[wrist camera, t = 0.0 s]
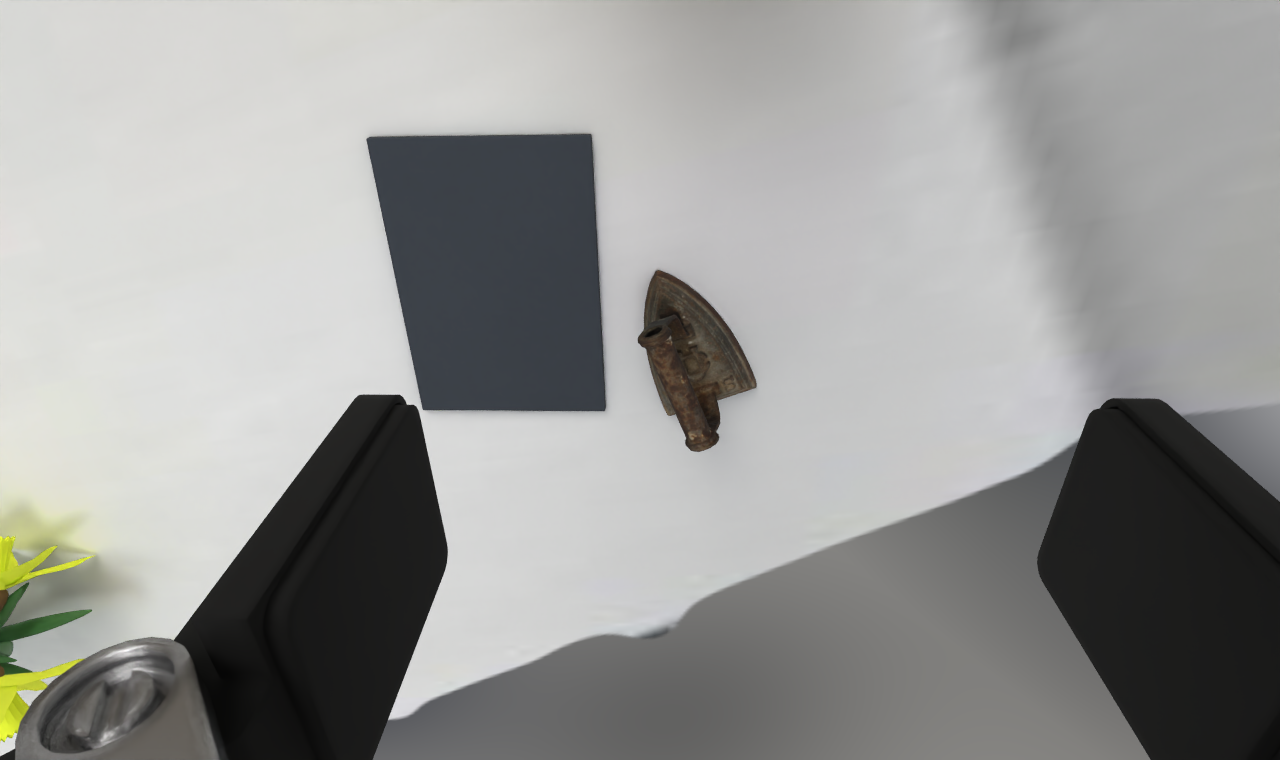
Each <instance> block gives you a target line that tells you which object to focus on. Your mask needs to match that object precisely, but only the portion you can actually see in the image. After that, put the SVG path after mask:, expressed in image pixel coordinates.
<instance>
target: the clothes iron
mask: <svg viewBox="0 0 1280 760" xmlns="http://www.w3.org/2000/svg"><path fill="white" fill-rule="evenodd" d="M638 343H639V344H640V345H641V346H642V347H645V348H646V350H647V355H648V360H649V364H650V368H651V372H652V375H653V379H654V382H655V385H656V388H657V391H658V393H659V396H660V399H661V401H662V404H663V406H664V409H665V411H666V413H667V415H668V416H672V415H675V414H676V416H677V418H678V420H679V423H680V425H681V427H682V429H683V432H684V434H685V436H686V440H685V444H686V446H687V447H688V448H689V449H690V450H691V451H695V452H700V451H704V450H706V449H709V448H711V447H712V446H714V445H715V444H716V443H717V442H718V440H719V435H718V434H717V433H716V431H717V429H718V427H719V425H720V412H719V407H718V403H717V400H720V399H723V398H726V397H729V396H732V395H735V394H738V393H742V392H745V391H748V390H751V389H754V388H756V380H755V377H754V375H753V372H752V370H751V368H750V365H749V363H748V361H747V359H746V357H745V355H744V353H743V351H742V349H741V347H740V345H739V343H738V342H737V340H736V338H735V337H734V335H733V333H732V332H731V330H730V329H729V327H728V326H727V324H726V323H725V322H724V321H723V319H722V318H721V317H720V315H719V314H718V313H717V312H716V311H715V310H714V308H713V307H712V306H711V305H710V304H709V303H708V302H707V301H706V300H705V299H704V298H703V297H701V296H700V295H699V294H698V293H697V292H696V291H694V290H693V289H692V288H691V287H689V286H688V285H687V284H685V283H684V282H682V281H681V280H679V279H677V278H675V277H673V276H671V275H669V274H667V273H664V272H662V271H659V270H658V271H656V272H655V274H654V276H653V278H652V279H651V282H650V285H649V288H648V293H647V297H646V302H645V312H644V331H643V332H642V333H641V334H640V336H639V337H638Z"/></svg>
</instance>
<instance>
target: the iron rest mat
mask: <svg viewBox="0 0 1280 760" xmlns="http://www.w3.org/2000/svg"><path fill="white" fill-rule="evenodd" d="M367 144H368V149H369V154H370V159H371V163H372V168H373V173H374V178H375V183H376V187H377V192H378V197H379V202H380V207H381V211H382V216H383V221H384V226H385V231H386V235H387V240H388V245H389V250H390V255H391V259H392V264H393V269H394V274H395V279H396V283H397V288H398V293H399V298H400V302H401V307H402V312H403V317H404V322H405V326H406V331H407V336H408V341H409V346H410V350H411V355H412V360H413V365H414V370H415V374H416V379H417V384H418V389H419V394H420V398H421V403H422V408H423V410H513V411H605V408H606V403H605V384H604V365H603V345H602V326H601V307H600V288H599V269H598V249H597V230H596V211H595V192H594V173H593V154H592V135H591V134H570V135H487V136H404V137H369V138H367Z"/></svg>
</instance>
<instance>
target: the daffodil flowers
mask: <svg viewBox="0 0 1280 760" xmlns="http://www.w3.org/2000/svg"><path fill="white" fill-rule="evenodd" d="M15 537H16V536H15ZM15 537H14V536H13V537H12V538H9V536H7V537H6V538H5V539H3V538H2V537H0V741H1V740H2V741H3V742H5V740H6V738H7V737H9V738H12V737H13V735H14V733H18V729H19V725H20V721H21V720H22V718H23V717H24V715H25V714H26V712H27V710H28V709H29V706H28V705H27V704H26V703H25V702H24V701H23V700H22V698H21V697H20V696H19V695H18V693H17V692H16V691H21V690H34V691H37V690H43V689H45V688H46V687H47V686H48V685H47V684H45V683H44V682H42V681H40V680H41V679H45V678H49V677H53V676H57V675H61V674H63V673H64V672H66V671H67V670H68V669H70V668H71V667H72V666H74V665H75V664H76V663H78V662H80V661H82V660H84V659H78V660H74V661H71V662H68V663H65V664H62V665H59V666H56V667H54V668H51V669H48V670H45V671H42V672H32V671H30V670H28V669H25V668H22V667H19V666H16V665H13V664H9V662H16V661H17V660H16V659H13V658H10V657H9V656H10V655H11V654H12V651H13V643H12V641H13V640H17V639H20V638H24V637H28V636H32V635H36V634H39V633H42V632H45V631H48V630H50V629H53V628H56V627H58V626H61V625H63V624H66V623H68V622H71V621H73V620H75V619H78V618H80V617H82V616H84V615H86V614H88V613H90V612H91V611H92V610H79V611H72V612H66V613H60V614H55V615H49V616H44V617H39V618H35V619H31V620H27V621H24V622H20V623H16V624H13V625H9V626H5V627H2V626H3V625H4V624H5V623H6V621H7V620H8V618H9V616H10V615H11V613H12V611H13V610H14V608H15V606H16V604H17V602H18V601H19V600H20V598H21V597H22V595H23V594H24V592H25V591H26V589H27V587H28V585H29V582H28V583H26V584H25V585H23V586H22V587H20V588H19V589H18V590H16V591H15V592H14V593H12V594H11V595H10V596H9V594H8V591H7V590H6V589H8V588H10V587H13V586H15V585H17V584H19V583H22V582H24V581H27V580H29V579H31V578H34V577H36V576H39V575H43V574H47V573H51V572H56V571H61V570H65V569H68V568H71V567H74V566H77V565H79V564H81V563H82V562H84V561H85V560H87V559H89V558H91V557H93V556H90V557H86V558H82V559H79V560H75V561H72V562H68V563H65V564H62V565H58V566H55V567H51V568H47V569H43V570H39V571H35V572H31V573H29V572H30V571H32V570H33V569H34V568H35V567H37V566H38V565H39V564H40V563H42V562H43V561H44V560H45V559H46V558H47V557H48V556H49V555H50V554H51V553H52V552H53V551H54V549H55V548H56V547H57V546H54V547H51V548H49V549H47V550H45V551H43V552H42V553H41V554H40V555H38V556H37V557H36V558H34V559H32V560H30V561H28V562H26V563H24V564H22V565H20V566H18V562H17V561H16V559H15V558H14V555H13V553H12V551H11V550H12V547H13V543H14V540H15ZM8 596H9V597H8Z"/></svg>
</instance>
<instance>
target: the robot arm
mask: <svg viewBox="0 0 1280 760" xmlns="http://www.w3.org/2000/svg"><path fill="white" fill-rule="evenodd" d="M447 555H448V548H447V542H446V537H445V532H444V528H443V523H442V518H441V513H440V509H439V504H438V499H437V495H436V490H435V485H434V480H433V476H432V471H431V466H430V462H429V457H428V452H427V448H426V443H425V438H424V433H423V429H422V424H421V419H420V415H419V411H418V409H417V407H416V406H414V405H407V404H406V401H405V400H404V398H403V397H402V396H400V395H359V396H357V397H356V398H355V399H354V401H353V402H352V403H351V405H350V406H349V407H348V409H347V410H346V411H345V413H344V414H343V415H342V417H341V418H340V419H339V421H338V422H337V423H336V425H335V426H334V427H333V429H332V430H331V431H330V433H329V434H328V435H327V437H326V438H325V439H324V441H323V442H322V443H321V445H320V446H319V447H318V449H317V450H316V451H315V453H314V454H313V455H312V457H311V458H310V459H309V461H308V462H307V463H306V465H305V466H304V467H303V469H302V470H301V471H300V473H299V474H298V475H297V477H296V478H295V479H294V481H293V482H292V483H291V485H290V486H289V487H288V489H287V490H286V491H285V493H284V494H283V495H282V497H281V498H280V499H279V501H278V502H277V503H276V505H275V506H274V507H273V509H272V510H271V511H270V513H269V514H268V515H267V517H266V518H265V519H264V521H263V522H262V523H261V525H260V526H259V527H258V529H257V530H256V531H255V533H254V534H253V535H252V537H251V538H250V539H249V541H248V542H247V543H246V545H245V546H244V547H243V549H242V550H241V551H240V553H239V554H238V555H237V557H236V558H235V559H234V561H233V562H232V563H231V565H230V566H229V567H228V569H227V570H226V571H225V573H224V574H223V575H222V577H221V578H220V579H219V581H218V582H217V583H216V585H215V586H214V587H213V589H212V590H211V591H210V593H209V594H208V595H207V597H206V598H205V599H204V601H203V602H202V603H201V605H200V606H199V607H198V609H197V610H196V611H195V613H194V614H193V615H192V617H191V618H190V619H189V621H188V622H187V623H186V625H185V626H184V627H183V629H182V630H181V631H180V633H179V634H178V635H177V637H176V638H175V639H174V641H173V640H171V639H165V638H155V637H149V638H142V639H136V640H129V641H126V642H123V643H120V644H117V645H114V646H111V647H108V648H106V649H103V650H101V651H99V652H97V653H95V654H93V655H91V656H89V657H88V658H86V659H84V660H82V661H80V662H78V663H76V664H75V665H74V666H72V667H71V668H70V669H68V670H67V671H66V672H64V673H63V674H61V675H60V676H59V677H57V678H56V679H55V680H53V681H52V682H51V683H50V684H49V685H48V686H47V687H46V688H45V690H44V691H43V692H42V693H41V694H40V695H39V696H38V697H37V698H36V699H35V700H34V701H33V702H32V704H31V706H30V707H29V709H28V710H27V712H26V714H25V715H24V717H23V718H22V720H21V721H20V725H19V729H18V733H17V737H16V741H15V749H14V750H12V751H10V752H8V753H6V754H4V755H2V756H0V760H373V757H374V754H375V752H376V749H377V746H378V744H379V741H380V739H381V736H382V733H383V731H384V728H385V726H386V723H387V721H388V718H389V715H390V713H391V710H392V707H393V705H394V702H395V700H396V697H397V694H398V692H399V689H400V687H401V684H402V681H403V679H404V676H405V674H406V671H407V668H408V666H409V663H410V660H411V658H412V655H413V653H414V650H415V647H416V645H417V642H418V640H419V637H420V634H421V632H422V629H423V626H424V624H425V621H426V619H427V616H428V613H429V611H430V608H431V606H432V603H433V600H434V598H435V595H436V593H437V590H438V587H439V585H440V582H441V579H442V577H443V574H444V572H445V568H446V564H447ZM1037 564H1038V571H1039V574H1040V577H1041V579H1042V582H1043V583H1044V585H1045V587H1046V588H1047V590H1048V591H1049V593H1050V595H1051V596H1052V598H1053V600H1054V601H1055V603H1056V605H1057V606H1058V608H1059V609H1060V611H1061V613H1062V615H1063V616H1064V618H1065V619H1066V621H1067V623H1068V624H1069V626H1070V627H1071V629H1072V631H1073V633H1074V634H1075V636H1076V638H1077V639H1078V641H1079V642H1080V644H1081V646H1082V647H1083V649H1084V651H1085V652H1086V654H1087V655H1088V657H1089V659H1090V661H1091V662H1092V664H1093V665H1094V667H1095V669H1096V670H1097V672H1098V674H1099V675H1100V677H1101V678H1102V680H1103V682H1104V684H1105V685H1106V687H1107V688H1108V690H1109V692H1110V693H1111V695H1112V697H1113V698H1114V700H1115V702H1116V703H1117V705H1118V706H1119V708H1120V710H1121V711H1122V713H1123V715H1124V716H1125V718H1126V720H1127V721H1128V723H1129V725H1130V726H1131V728H1132V730H1133V731H1134V733H1135V735H1136V736H1137V738H1138V739H1139V741H1140V743H1141V744H1142V746H1143V748H1144V749H1145V751H1146V753H1147V754H1148V756H1149V757H1150V759H1151V760H1280V502H1279V501H1278V500H1277V499H1276V498H1275V497H1273V496H1272V495H1271V494H1270V493H1269V492H1268V491H1267V490H1265V489H1264V488H1263V487H1262V486H1261V485H1259V484H1258V483H1257V482H1256V481H1255V480H1254V479H1253V478H1252V477H1250V476H1249V475H1248V474H1247V473H1246V472H1245V471H1244V470H1242V469H1241V468H1240V467H1239V466H1238V465H1237V464H1236V463H1234V462H1233V461H1232V460H1231V459H1230V458H1229V457H1227V456H1226V455H1225V454H1224V453H1223V452H1222V451H1221V450H1219V449H1218V448H1217V447H1216V446H1215V445H1214V444H1212V443H1211V442H1210V441H1209V440H1208V439H1207V438H1206V437H1204V436H1203V435H1202V434H1201V433H1200V432H1198V431H1197V430H1196V429H1195V428H1194V427H1193V426H1192V425H1191V424H1190V423H1188V422H1187V421H1186V420H1185V419H1184V418H1183V417H1181V416H1180V415H1179V414H1178V413H1177V412H1176V411H1175V410H1173V409H1172V408H1171V407H1170V406H1169V405H1168V404H1167V403H1165V402H1163V401H1162V400H1160V399H1123V398H1113V399H1110V400H1107V401H1106V402H1105V403H1104V404H1103V405H1102V406H1101V408H1100V409H1096V410H1093V411H1092V412H1091V413H1090V414H1089V416H1088V418H1087V420H1086V423H1085V426H1084V429H1083V431H1082V434H1081V437H1080V440H1079V443H1078V445H1077V448H1076V451H1075V453H1074V456H1073V459H1072V462H1071V465H1070V467H1069V470H1068V473H1067V476H1066V478H1065V481H1064V484H1063V487H1062V489H1061V492H1060V495H1059V498H1058V500H1057V503H1056V506H1055V509H1054V512H1053V515H1052V517H1051V520H1050V523H1049V525H1048V528H1047V531H1046V534H1045V536H1044V539H1043V542H1042V545H1041V547H1040V550H1039V554H1038V561H1037Z"/></svg>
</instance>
